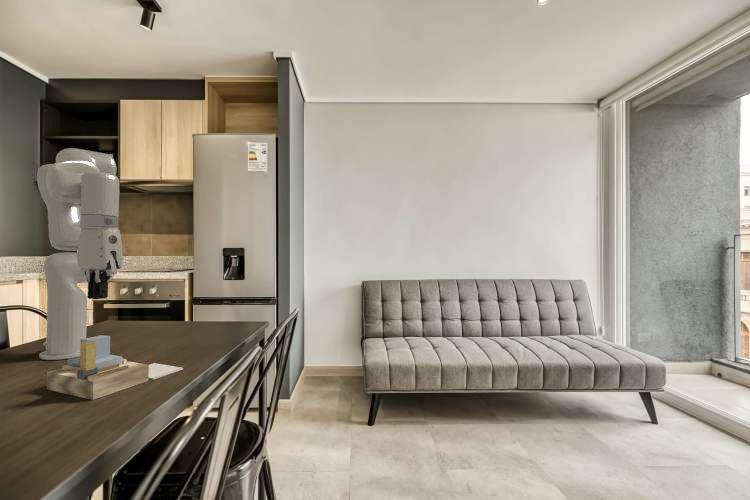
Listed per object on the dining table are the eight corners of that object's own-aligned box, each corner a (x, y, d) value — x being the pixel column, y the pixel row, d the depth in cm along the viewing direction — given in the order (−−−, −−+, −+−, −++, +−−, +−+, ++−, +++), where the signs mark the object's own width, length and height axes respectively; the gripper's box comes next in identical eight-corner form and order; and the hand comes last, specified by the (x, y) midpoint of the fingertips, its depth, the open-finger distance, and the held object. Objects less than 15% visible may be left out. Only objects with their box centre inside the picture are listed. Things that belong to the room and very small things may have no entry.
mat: (123, 374, 96) (123, 372, 96) (154, 364, 105) (154, 363, 105) (153, 379, 93) (153, 378, 93) (183, 369, 101) (183, 367, 101)
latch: (68, 376, 82) (69, 341, 82) (83, 372, 84) (84, 338, 85) (83, 379, 80) (84, 344, 80) (97, 375, 83) (98, 341, 83)
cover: (67, 368, 88) (67, 339, 88) (97, 360, 95) (98, 333, 95) (92, 373, 85) (92, 342, 85) (122, 364, 92) (122, 336, 92)
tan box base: (46, 389, 85) (47, 367, 85) (104, 372, 97) (105, 353, 97) (93, 399, 80) (93, 376, 80) (148, 380, 92) (148, 360, 92)
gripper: (136, 224, 91) (134, 298, 91) (94, 224, 96) (92, 294, 96) (105, 222, 84) (103, 302, 84) (61, 222, 89) (59, 297, 89)
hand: (97, 297), depth 90 cm, fingers closed
